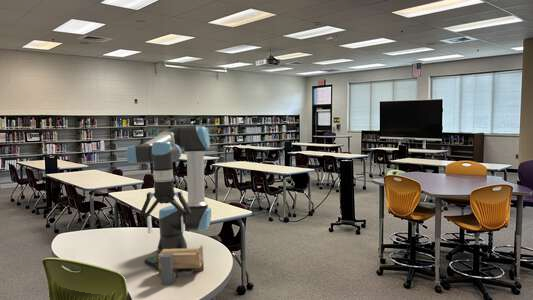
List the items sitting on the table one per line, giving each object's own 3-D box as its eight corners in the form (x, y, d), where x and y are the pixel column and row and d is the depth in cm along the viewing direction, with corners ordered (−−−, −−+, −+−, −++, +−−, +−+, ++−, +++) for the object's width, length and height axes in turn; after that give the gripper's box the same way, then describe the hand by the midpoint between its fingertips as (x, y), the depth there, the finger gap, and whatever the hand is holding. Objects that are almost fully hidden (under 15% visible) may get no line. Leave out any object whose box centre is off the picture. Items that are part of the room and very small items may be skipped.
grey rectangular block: (170, 272, 175) (169, 246, 174) (179, 272, 175) (178, 246, 174) (162, 284, 162) (160, 256, 161) (171, 284, 162) (169, 256, 161)
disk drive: (179, 265, 184) (163, 258, 195) (179, 260, 184) (163, 252, 194) (159, 272, 177) (144, 264, 187) (159, 266, 176) (143, 258, 187)
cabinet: (164, 270, 177) (163, 246, 176) (203, 269, 177) (202, 245, 176) (159, 277, 169) (157, 252, 168) (200, 276, 169) (199, 251, 168)
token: (181, 272, 175) (180, 266, 175) (194, 272, 175) (194, 266, 175) (177, 278, 169) (177, 271, 169) (191, 277, 169) (190, 271, 169)
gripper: (129, 182, 152) (133, 235, 154) (192, 180, 152) (195, 233, 154) (136, 179, 160) (139, 229, 162) (196, 177, 159) (199, 228, 161)
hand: (166, 231), depth 158 cm, fingers open, 13 cm apart
